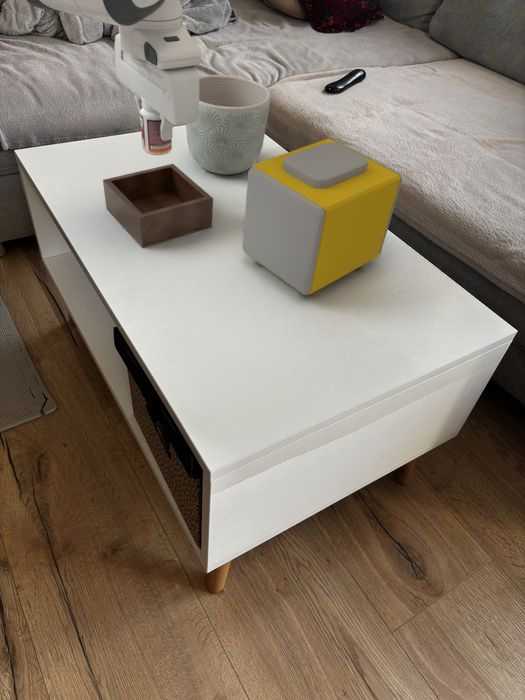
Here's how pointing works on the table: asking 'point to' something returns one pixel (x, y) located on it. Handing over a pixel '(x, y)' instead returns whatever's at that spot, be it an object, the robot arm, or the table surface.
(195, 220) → the holder
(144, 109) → the pill bottle
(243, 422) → the table surface
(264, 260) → the alarm clock
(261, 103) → the planter
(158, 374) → the table surface
